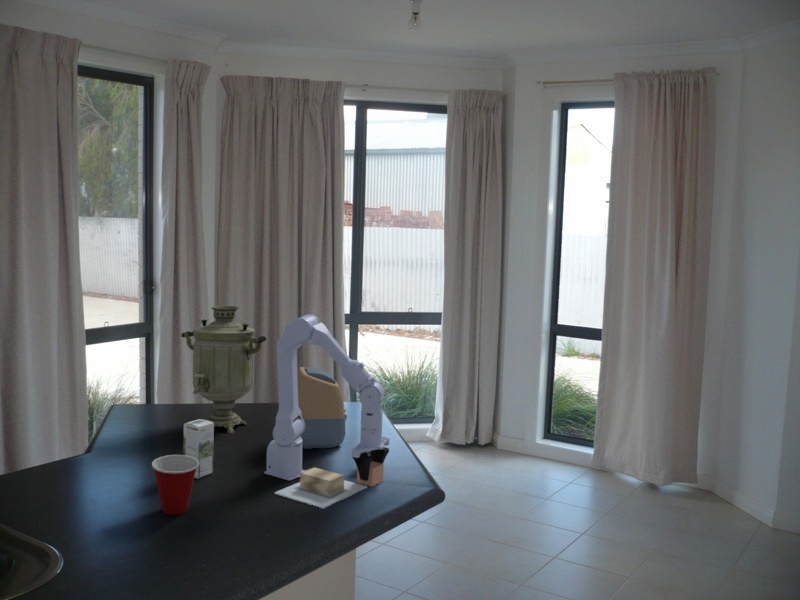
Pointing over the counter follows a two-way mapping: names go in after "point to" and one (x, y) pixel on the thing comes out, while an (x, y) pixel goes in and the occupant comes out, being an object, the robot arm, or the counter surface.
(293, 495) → the white flat plate
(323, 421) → the orange and grey canister
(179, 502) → the plastic cup
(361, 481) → the cube
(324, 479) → the slab
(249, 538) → the counter surface
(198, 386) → the samovar
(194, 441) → the syrup box
